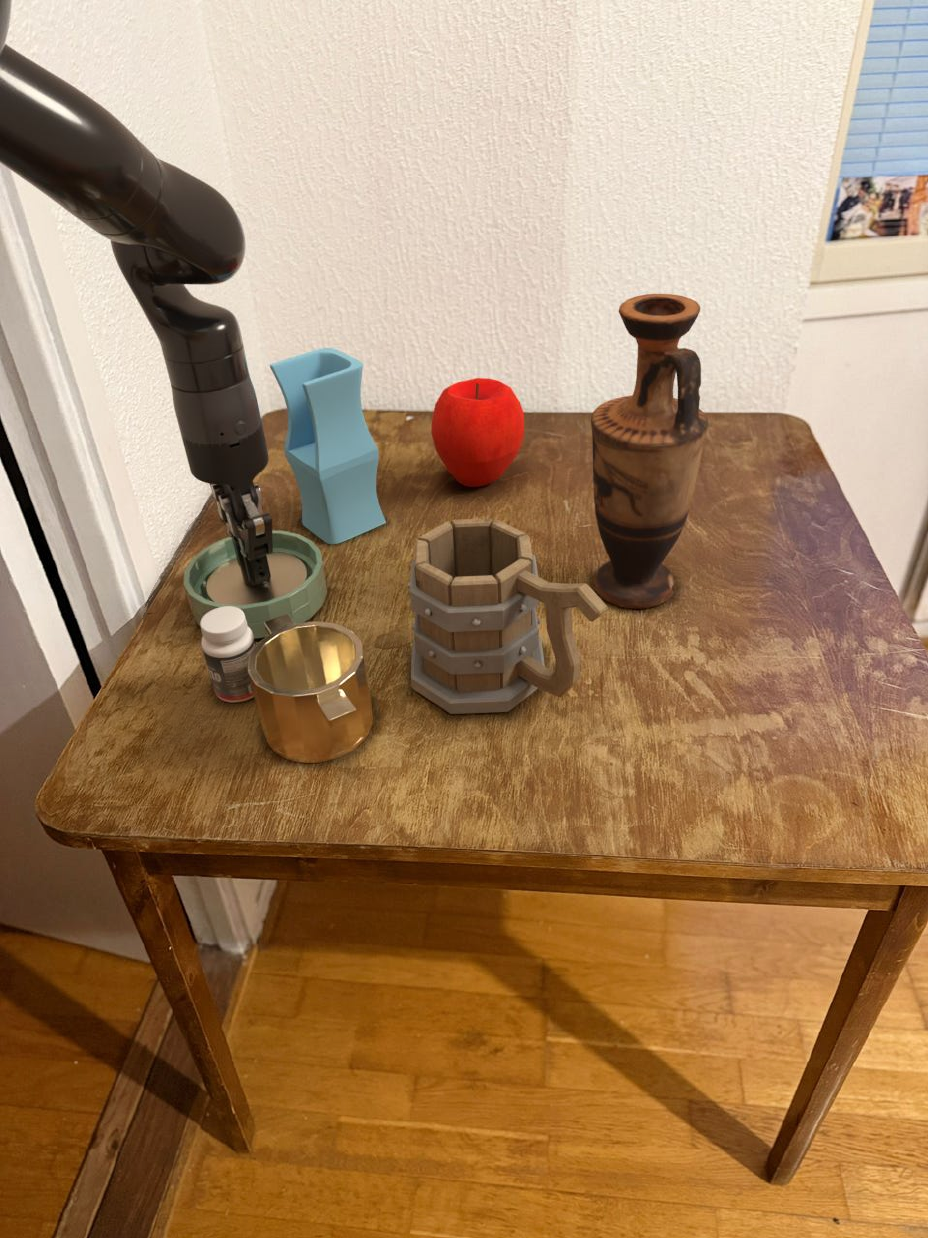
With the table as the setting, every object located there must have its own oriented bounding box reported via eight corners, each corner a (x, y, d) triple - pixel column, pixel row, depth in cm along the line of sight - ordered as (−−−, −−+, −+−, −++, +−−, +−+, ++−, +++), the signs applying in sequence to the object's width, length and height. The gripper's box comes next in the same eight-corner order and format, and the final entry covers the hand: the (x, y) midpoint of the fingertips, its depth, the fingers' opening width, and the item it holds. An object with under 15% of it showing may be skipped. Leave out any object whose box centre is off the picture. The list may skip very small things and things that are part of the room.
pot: (300, 800, 74) (284, 732, 69) (240, 695, 84) (222, 629, 79) (404, 753, 77) (396, 685, 72) (335, 658, 88) (323, 593, 83)
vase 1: (297, 521, 109) (268, 364, 97) (351, 498, 113) (329, 345, 100) (331, 547, 104) (305, 385, 92) (386, 523, 108) (368, 364, 95)
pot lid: (226, 630, 89) (212, 577, 85) (195, 579, 97) (181, 527, 93) (324, 595, 93) (315, 542, 89) (287, 548, 101) (277, 498, 97)
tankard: (385, 673, 86) (369, 543, 76) (475, 612, 93) (469, 487, 83) (544, 777, 74) (547, 639, 65) (632, 699, 81) (646, 565, 72)
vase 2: (562, 579, 97) (571, 303, 78) (638, 547, 101) (663, 278, 83) (628, 630, 89) (655, 338, 71) (706, 593, 94) (751, 308, 75)
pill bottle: (210, 680, 86) (190, 612, 81) (257, 665, 87) (241, 597, 82) (221, 710, 83) (200, 641, 77) (270, 694, 84) (253, 625, 79)
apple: (495, 513, 108) (492, 412, 100) (416, 491, 113) (407, 393, 105) (540, 472, 116) (541, 374, 108) (464, 453, 121) (459, 358, 113)
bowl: (217, 660, 88) (207, 625, 86) (177, 589, 98) (167, 556, 96) (348, 612, 94) (343, 577, 91) (298, 549, 104) (292, 516, 101)
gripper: (161, 406, 87) (201, 553, 97) (203, 463, 77) (242, 619, 87) (234, 388, 89) (265, 533, 100) (284, 440, 80) (313, 594, 90)
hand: (255, 572), depth 94 cm, fingers closed on pot lid, 3 cm apart
